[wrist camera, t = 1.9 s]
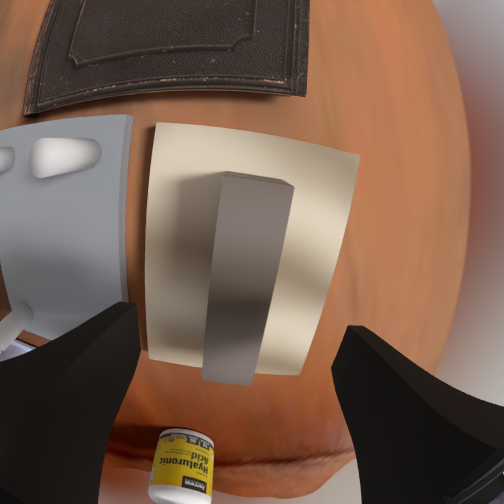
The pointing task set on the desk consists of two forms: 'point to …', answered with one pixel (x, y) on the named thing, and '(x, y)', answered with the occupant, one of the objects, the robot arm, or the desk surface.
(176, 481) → the supplement bottle
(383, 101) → the desk surface
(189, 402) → the desk surface
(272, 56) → the hardcover book
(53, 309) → the peg stand
